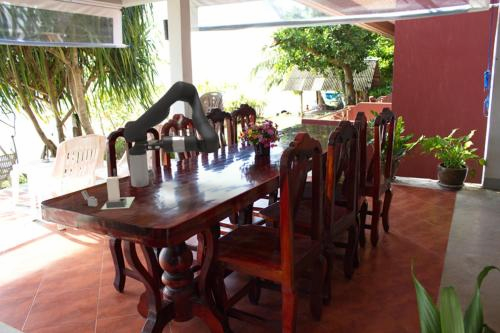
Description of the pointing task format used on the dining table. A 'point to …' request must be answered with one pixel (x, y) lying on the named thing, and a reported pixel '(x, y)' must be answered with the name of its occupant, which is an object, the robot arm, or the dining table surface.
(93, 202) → the lighter
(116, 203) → the board
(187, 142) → the robot arm
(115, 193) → the cream rectangular pillar
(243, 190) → the dining table surface
